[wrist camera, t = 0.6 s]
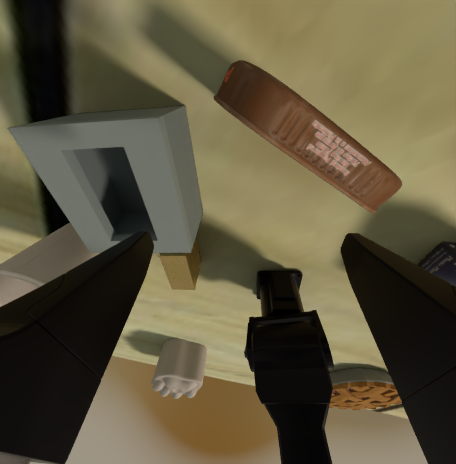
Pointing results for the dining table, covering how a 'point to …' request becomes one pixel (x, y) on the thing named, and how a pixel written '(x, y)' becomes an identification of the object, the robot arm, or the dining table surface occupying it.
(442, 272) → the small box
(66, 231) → the dixie cup
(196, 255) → the tan rectangular block
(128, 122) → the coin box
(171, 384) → the lumpy-topped squat cylinder
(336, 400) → the pie
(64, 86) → the dining table surface
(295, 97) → the tin
